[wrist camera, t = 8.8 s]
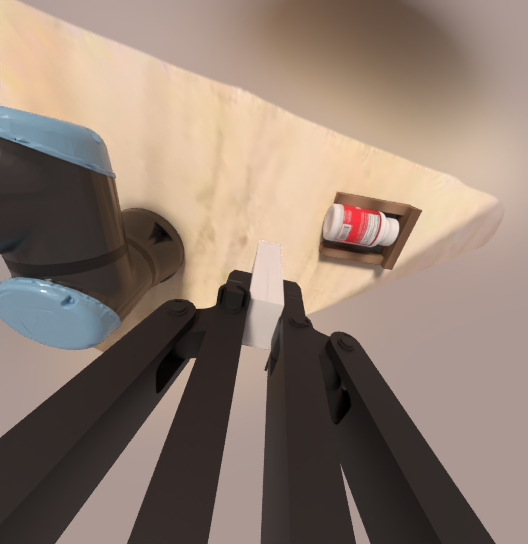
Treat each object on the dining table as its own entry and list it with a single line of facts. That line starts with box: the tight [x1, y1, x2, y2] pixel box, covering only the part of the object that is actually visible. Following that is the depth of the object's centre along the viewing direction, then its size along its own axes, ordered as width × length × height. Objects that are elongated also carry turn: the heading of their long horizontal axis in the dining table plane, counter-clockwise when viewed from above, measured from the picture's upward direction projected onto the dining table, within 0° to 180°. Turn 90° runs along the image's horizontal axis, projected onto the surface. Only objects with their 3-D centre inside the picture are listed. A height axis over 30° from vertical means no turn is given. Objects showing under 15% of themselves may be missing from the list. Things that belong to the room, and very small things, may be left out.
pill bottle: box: [323, 204, 399, 247], centre depth 38 cm, size 6×6×11 cm
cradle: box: [319, 192, 422, 270], centre depth 40 cm, size 13×11×4 cm
